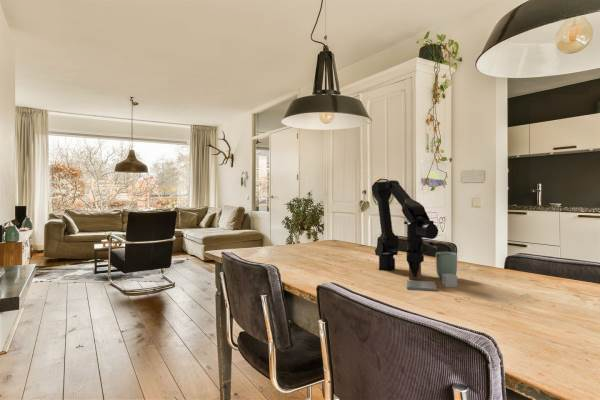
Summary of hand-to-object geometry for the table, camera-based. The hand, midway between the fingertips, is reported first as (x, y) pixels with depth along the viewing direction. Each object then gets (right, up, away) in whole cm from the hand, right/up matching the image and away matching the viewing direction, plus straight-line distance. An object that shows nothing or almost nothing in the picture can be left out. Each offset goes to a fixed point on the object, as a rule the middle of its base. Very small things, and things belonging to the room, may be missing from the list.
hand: (414, 275), depth 145 cm
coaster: (-2, -2, -12) cm, 12 cm away
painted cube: (+9, -2, -11) cm, 14 cm away
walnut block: (0, -1, 0) cm, 1 cm away
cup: (+12, -1, -1) cm, 12 cm away
